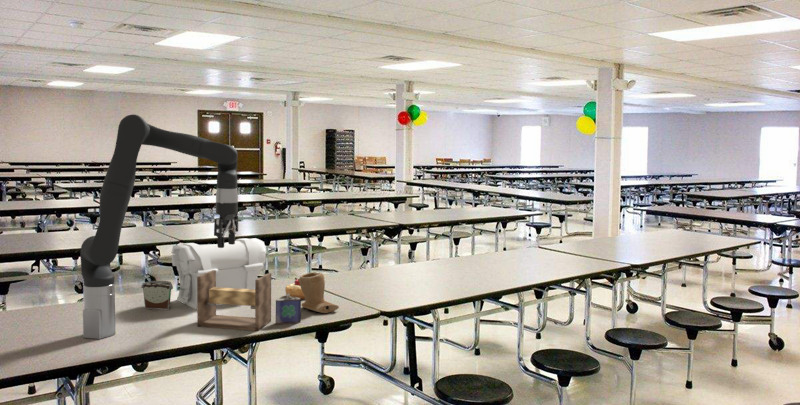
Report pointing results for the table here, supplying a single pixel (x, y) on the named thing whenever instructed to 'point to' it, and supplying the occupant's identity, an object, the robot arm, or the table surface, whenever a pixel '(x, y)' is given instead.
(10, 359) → the table surface
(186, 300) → the chest
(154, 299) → the food container
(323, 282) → the tan ankle boot
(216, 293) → the shelf board
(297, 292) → the pastry
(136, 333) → the table surface
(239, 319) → the shelf rack
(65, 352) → the table surface
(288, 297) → the flask
